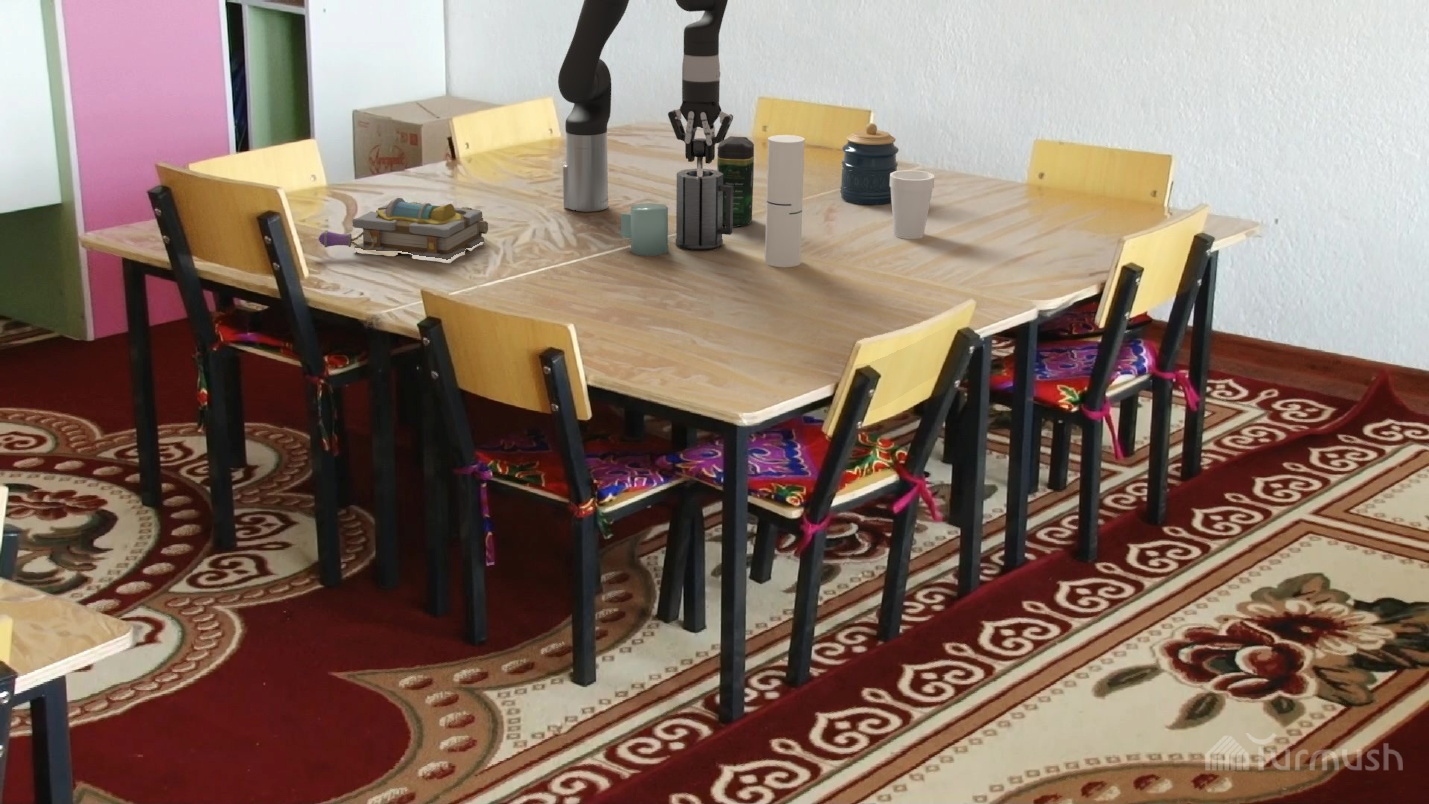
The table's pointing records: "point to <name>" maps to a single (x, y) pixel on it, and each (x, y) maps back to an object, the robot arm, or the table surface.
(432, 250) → the decorative book
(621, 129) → the table surface
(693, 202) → the faceted grey mug
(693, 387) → the table surface
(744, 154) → the coffee jar
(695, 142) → the plunger
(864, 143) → the canister
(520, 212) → the table surface
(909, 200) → the foam cup
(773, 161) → the cylindrical container
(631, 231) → the teal mug
